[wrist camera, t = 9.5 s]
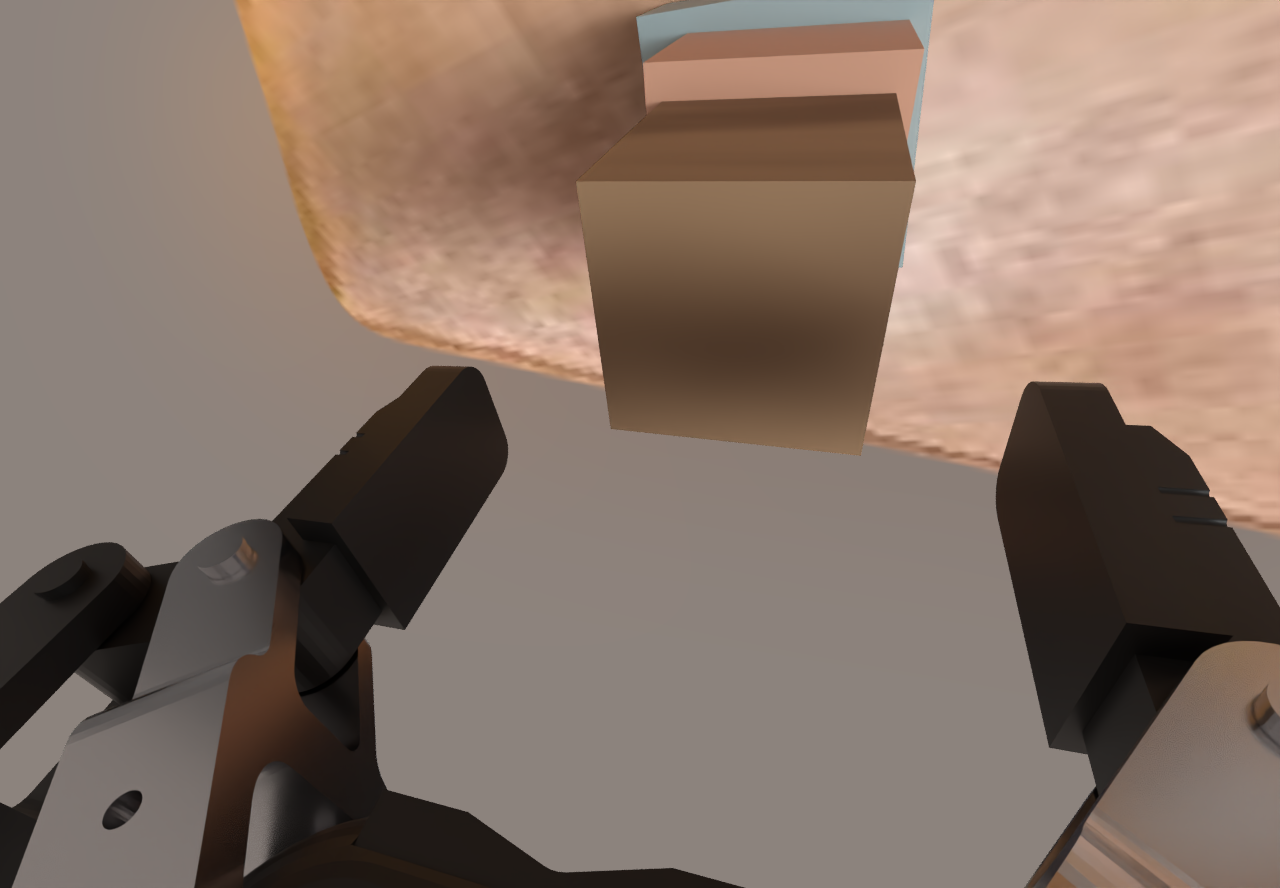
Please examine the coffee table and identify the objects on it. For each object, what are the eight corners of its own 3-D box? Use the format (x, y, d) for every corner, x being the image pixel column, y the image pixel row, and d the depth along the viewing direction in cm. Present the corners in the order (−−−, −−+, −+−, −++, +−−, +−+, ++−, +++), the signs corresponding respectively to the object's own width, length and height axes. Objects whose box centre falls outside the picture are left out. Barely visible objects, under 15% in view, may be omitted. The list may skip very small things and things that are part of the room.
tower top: (687, 33, 18) (643, 62, 14) (909, 19, 16) (924, 48, 12) (692, 236, 21) (658, 301, 18) (871, 240, 20) (874, 313, 16)
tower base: (667, 3, 21) (636, 16, 18) (924, -43, 18) (938, -35, 15) (691, 234, 25) (670, 275, 23) (896, 223, 23) (902, 267, 20)
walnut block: (661, 101, 14) (575, 181, 10) (896, 93, 13) (915, 180, 9) (671, 302, 18) (611, 428, 13) (859, 312, 16) (860, 455, 12)
